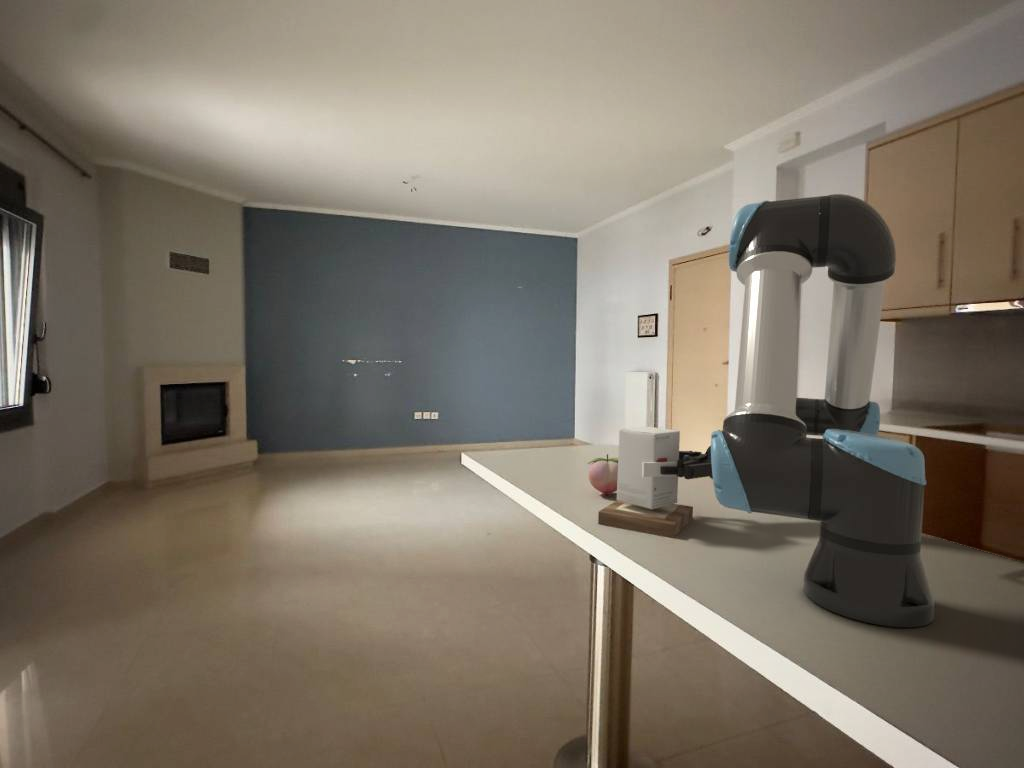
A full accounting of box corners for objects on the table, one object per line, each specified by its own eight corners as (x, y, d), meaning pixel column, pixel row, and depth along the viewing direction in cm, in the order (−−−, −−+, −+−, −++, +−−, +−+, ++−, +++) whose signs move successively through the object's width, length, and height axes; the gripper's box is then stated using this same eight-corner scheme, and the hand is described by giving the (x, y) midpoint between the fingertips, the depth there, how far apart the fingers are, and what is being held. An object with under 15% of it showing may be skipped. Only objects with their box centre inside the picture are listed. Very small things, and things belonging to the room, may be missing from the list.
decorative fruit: (622, 491, 137) (623, 451, 137) (628, 499, 129) (629, 457, 129) (584, 490, 137) (586, 450, 137) (588, 498, 129) (590, 456, 129)
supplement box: (651, 510, 105) (654, 433, 104) (615, 500, 112) (617, 428, 111) (679, 503, 111) (681, 430, 110) (642, 494, 118) (644, 425, 117)
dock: (673, 537, 101) (674, 522, 101) (598, 523, 109) (598, 510, 109) (692, 518, 114) (693, 505, 114) (623, 507, 122) (624, 494, 122)
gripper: (764, 494, 102) (654, 496, 99) (700, 468, 126) (610, 469, 123) (766, 454, 102) (656, 455, 99) (702, 436, 126) (611, 436, 122)
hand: (630, 463), depth 111 cm, fingers closed on supplement box, 12 cm apart
